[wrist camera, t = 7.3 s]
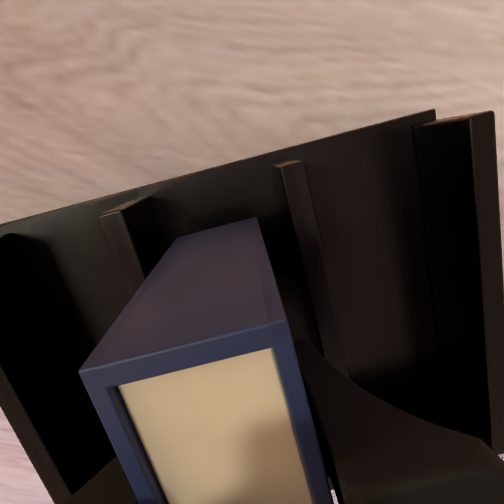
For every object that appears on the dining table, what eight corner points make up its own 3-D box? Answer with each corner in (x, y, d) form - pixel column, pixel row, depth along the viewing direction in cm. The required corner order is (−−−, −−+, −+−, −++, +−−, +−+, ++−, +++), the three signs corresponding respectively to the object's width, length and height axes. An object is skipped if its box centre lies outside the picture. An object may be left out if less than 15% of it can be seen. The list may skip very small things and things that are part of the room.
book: (312, 434, 15) (390, 726, 7) (246, 450, 15) (254, 754, 8) (256, 216, 12) (286, 318, 5) (176, 237, 12) (76, 371, 5)
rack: (452, 386, 18) (518, 458, 14) (116, 467, 19) (80, 561, 14) (422, 111, 14) (501, 93, 10) (1, 223, 15) (-95, 252, 11)
